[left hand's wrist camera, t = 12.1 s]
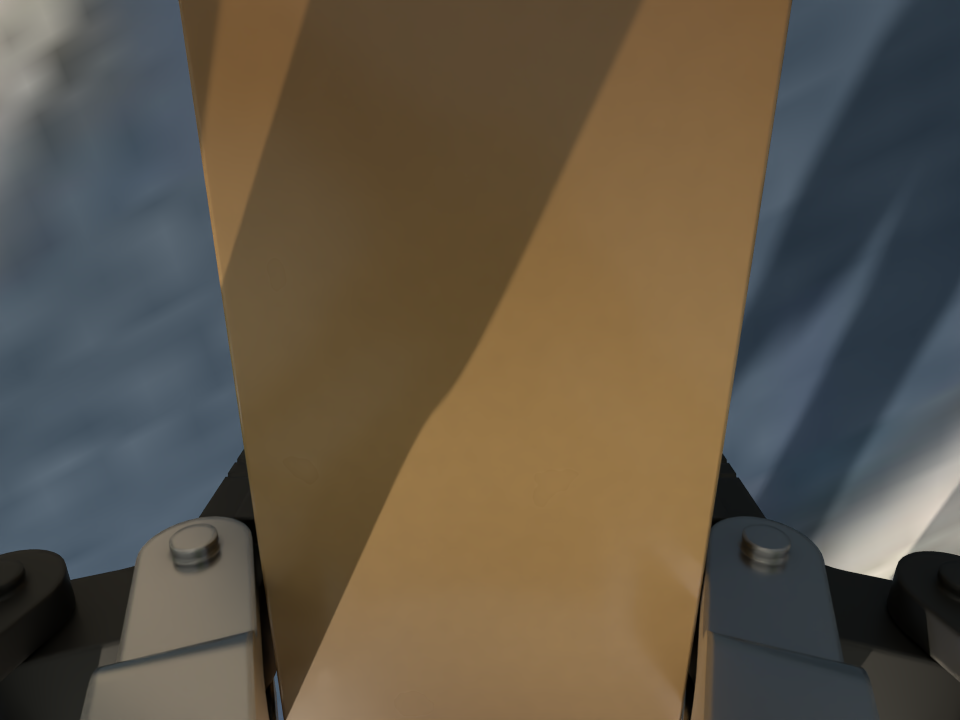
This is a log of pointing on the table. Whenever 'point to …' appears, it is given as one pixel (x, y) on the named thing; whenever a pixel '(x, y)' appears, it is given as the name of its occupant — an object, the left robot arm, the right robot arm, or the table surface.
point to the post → (484, 334)
